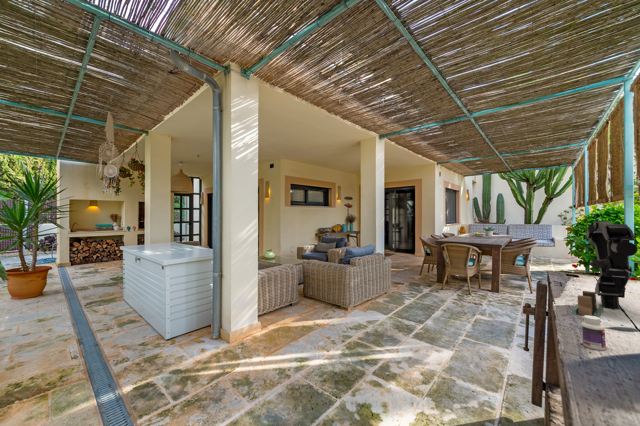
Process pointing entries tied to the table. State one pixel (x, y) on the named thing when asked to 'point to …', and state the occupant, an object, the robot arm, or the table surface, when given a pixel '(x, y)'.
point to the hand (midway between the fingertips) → (620, 290)
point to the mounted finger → (593, 296)
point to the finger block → (585, 305)
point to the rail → (595, 313)
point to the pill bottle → (593, 333)
